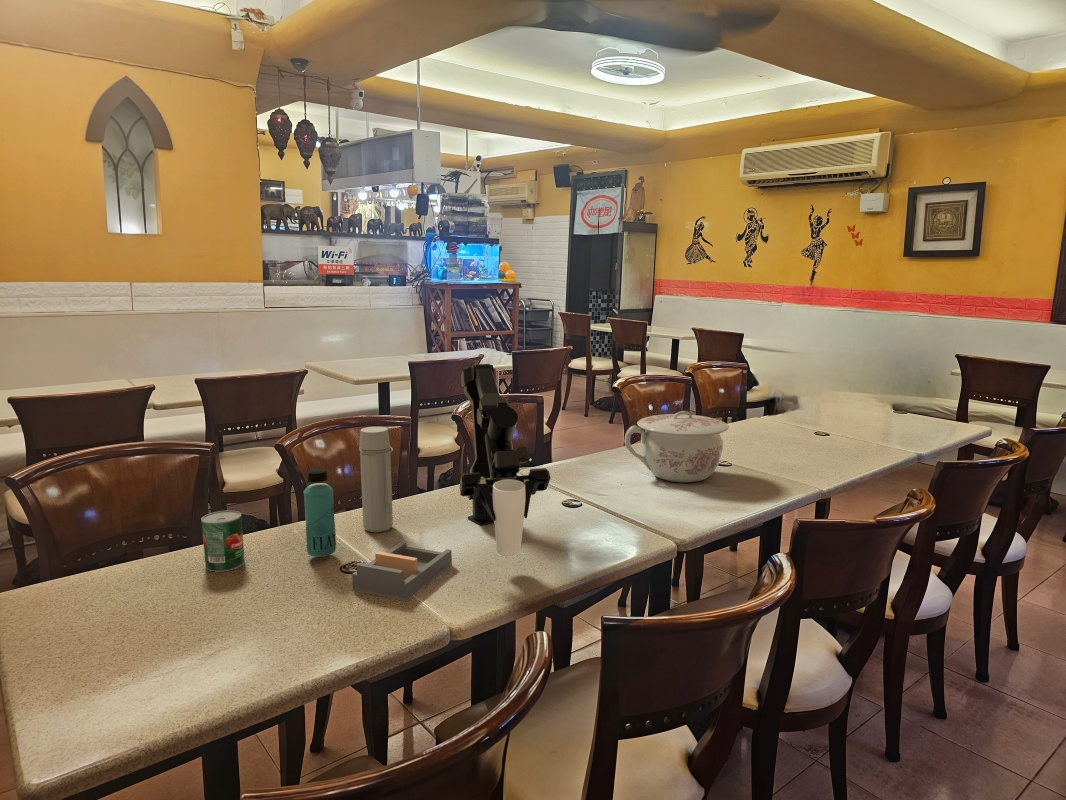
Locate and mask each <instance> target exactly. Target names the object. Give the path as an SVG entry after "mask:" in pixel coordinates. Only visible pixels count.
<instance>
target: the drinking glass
mask: <svg viewBox="0 0 1066 800" xmlns="http://www.w3.org/2000/svg"><path fill="white" fill-rule="evenodd" d="M525 500H526V492H525V484H524V483H523V482H521V481H518V480H513V479H505V480H500V481H497V482H495V483H494V484H493V509H494V512H495V518H496V519H495V521H494V522H493V523H494V534H495V551H496V553H498V554H499V555H501V556H503V557H513V556H517V555H518V554H520V553H521V551H522V545H523V544H522V540H523V533H524V531H523V529H524V520H525V517H524V513H525Z"/></svg>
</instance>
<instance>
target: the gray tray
mask: <svg viewBox="0 0 1066 800" xmlns="http://www.w3.org/2000/svg"><path fill="white" fill-rule="evenodd" d="M407 543H408V542H404V541H401V542H400V543H398V544H396V545H395V546H393V547H392V548H390V549H389V550H387V551H385V553H391V554H396V555H402V556H408V557H414V558H417V561H418V571H416V572H415V573H414V574H412V575H411V576H410V577H408V578H407V579H406V580H404V571H403V570H398V569H392V568H387V567H381V566H376V559H372V561H370V562H368V563H364V562H359V563H357V564H356V571H354V572H353V573H351V580H352V581H351V582H352V592H353V591H354V592H358V593H364V594H369V595H373V596H377V597H384V598H388V599H394V600H397V601H403V602H408V601H409V600H410V599H411V598H413V597H414V596H415V595H416V594H417V593H419V592H420V591H422V589H424V588H425V587H426V586H428V585H429V584H430V583H432V582H433V581H434V580H435V579H437V578H438V577H439V576H440V575H442V574H443V573H444V572H445V571H447V570H448V569H449V568H450V567H451V566H453V555H452V552H453V551H452V549H447V548H446V549H445V550H444V551H435V550H431V549H423V548H417V547H411V546H408V545H407Z"/></svg>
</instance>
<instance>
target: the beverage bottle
mask: <svg viewBox="0 0 1066 800" xmlns="http://www.w3.org/2000/svg"><path fill="white" fill-rule="evenodd" d="M327 480H328V471H327V470H326V469H325V468H324V469H323V468H317V469H316V468H314V469H310V470H309V471H308V472H307V481H308V482H309V483H311V484H309V485H308V486H307V487H305V489H304V490H303V499H304V500H303V501H304V516H305V518H304V519H305V542H306V552H307V554H308V555H309V556H311V557H315V558H316V557H317V558H318V557H319V558H321V557H326V556H330V555H332V554H334V553H335V552H336V549H337V538H336V534H337V533H336V532H337V531H336V522H335V520H336V518H335V513H336V512H335V510H336V509H335V503H334V502H335V500H334V488H333V487H332V486H331V485H329V484H328V483H325V482H326V481H327Z"/></svg>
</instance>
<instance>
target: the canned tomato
mask: <svg viewBox="0 0 1066 800" xmlns="http://www.w3.org/2000/svg"><path fill="white" fill-rule="evenodd" d="M200 520H201V530H202V531H201V533H202V540H203V554H204V563H205V567H206V568H205V567H204V568H205V570H206V569H207V570H206V571H208V570H210V571H209V572H211V571H215V572H214V573H224V572H223V571H226V572H230V571H229V570H231V571H234V570H237V569H239V568H242V567H243V566H244V565H245V563H246V559H245V548H244V536H243V532H244V531H243V522H242V521H243V520H242V513H241V512H240V511H237V510H218V511H214V512H210V513H208V514H205V515H203V516H202V517H201V518H200ZM242 565H243V566H242ZM233 569H234V570H233Z"/></svg>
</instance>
